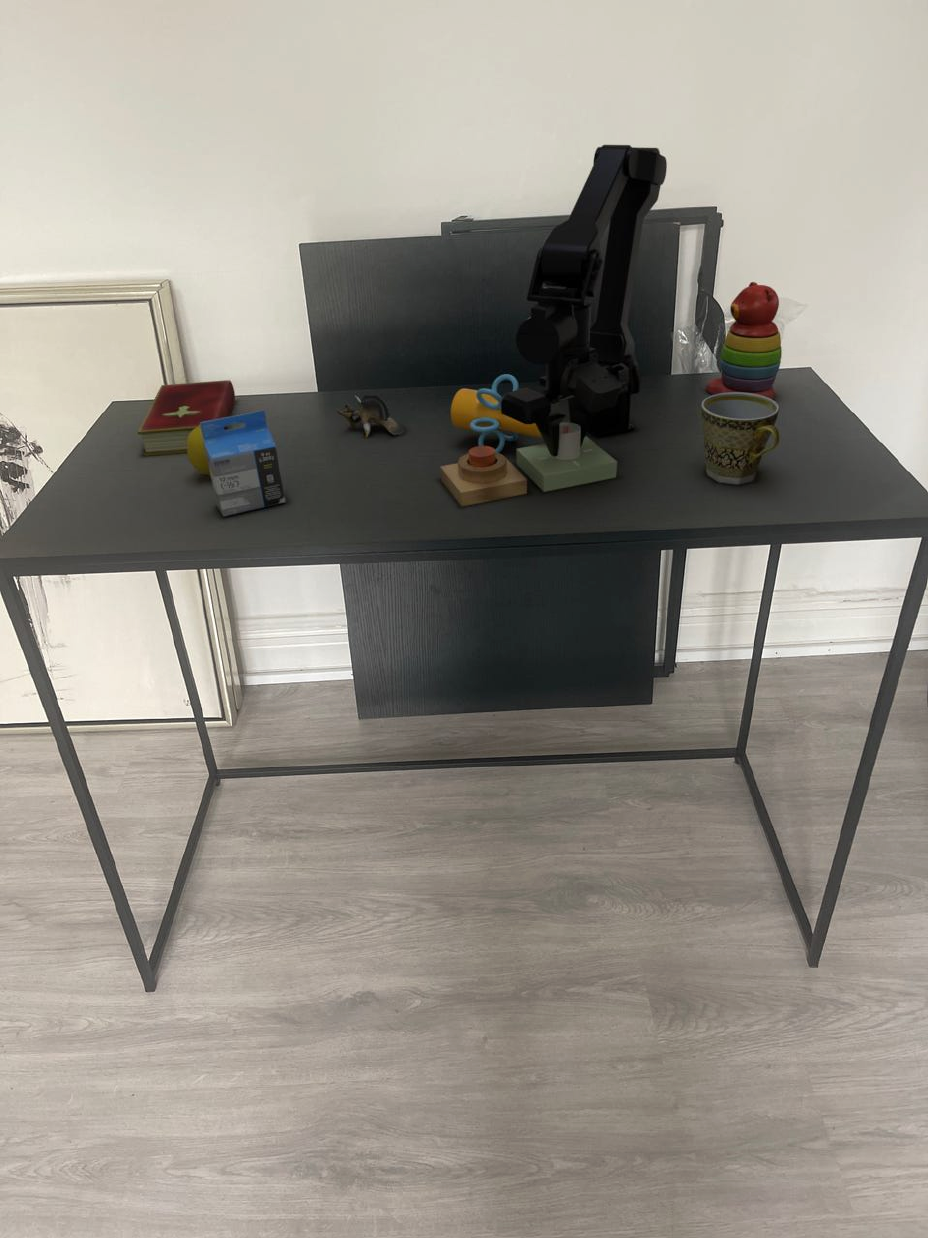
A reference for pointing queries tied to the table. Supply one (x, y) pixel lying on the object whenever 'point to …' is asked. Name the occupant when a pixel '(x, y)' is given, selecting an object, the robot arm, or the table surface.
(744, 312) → the stacking bear
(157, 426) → the hardcover book
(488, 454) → the top button
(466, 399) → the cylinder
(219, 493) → the label tape box
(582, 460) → the dial panel
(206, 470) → the lemon
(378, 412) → the animal figurine
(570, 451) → the dial
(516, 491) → the button block
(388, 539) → the table surface
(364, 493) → the table surface
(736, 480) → the ceramic cup
